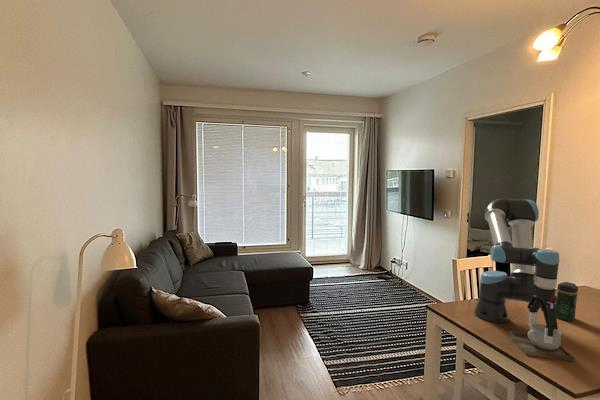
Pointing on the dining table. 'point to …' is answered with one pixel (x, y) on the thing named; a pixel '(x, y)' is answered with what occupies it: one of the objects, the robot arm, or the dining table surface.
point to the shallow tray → (533, 350)
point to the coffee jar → (566, 301)
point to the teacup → (538, 337)
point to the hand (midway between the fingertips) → (539, 334)
